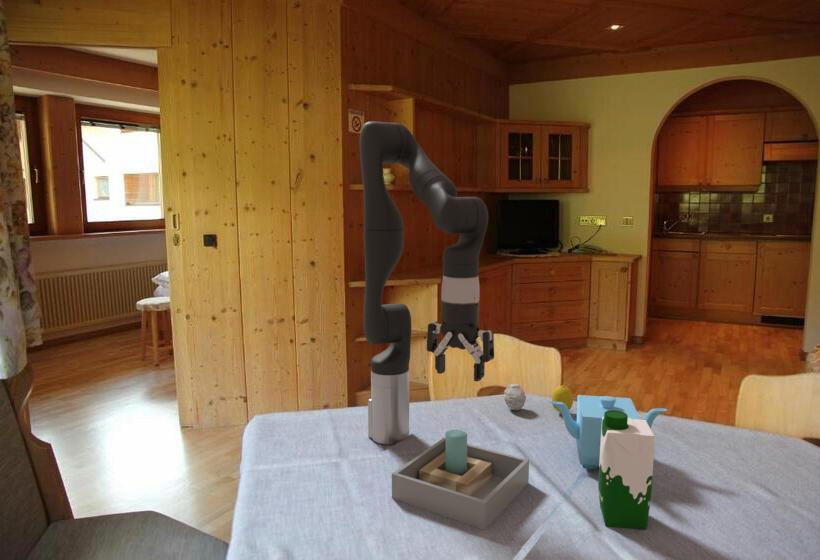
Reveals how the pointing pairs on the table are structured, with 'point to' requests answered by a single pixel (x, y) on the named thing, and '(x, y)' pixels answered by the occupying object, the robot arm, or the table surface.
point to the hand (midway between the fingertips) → (459, 376)
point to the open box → (471, 510)
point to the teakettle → (596, 423)
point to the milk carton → (625, 470)
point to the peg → (456, 452)
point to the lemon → (562, 397)
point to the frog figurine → (514, 397)
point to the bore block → (463, 484)
